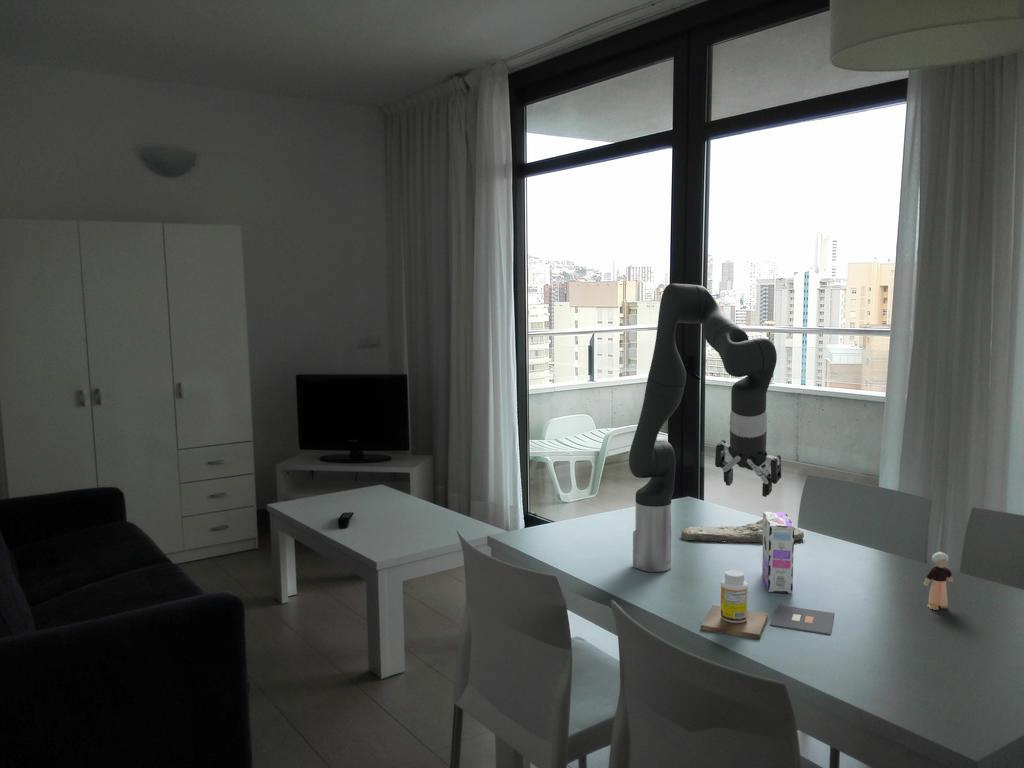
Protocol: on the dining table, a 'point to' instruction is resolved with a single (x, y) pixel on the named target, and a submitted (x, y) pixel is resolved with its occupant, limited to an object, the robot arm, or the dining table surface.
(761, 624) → the walnut board
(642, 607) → the dining table surface
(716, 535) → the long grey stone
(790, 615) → the tile
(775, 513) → the candy box
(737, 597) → the supplement bottle
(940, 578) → the grandmother figurine
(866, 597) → the dining table surface
